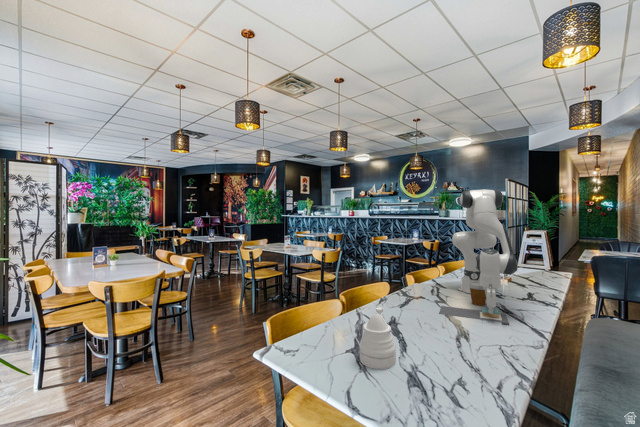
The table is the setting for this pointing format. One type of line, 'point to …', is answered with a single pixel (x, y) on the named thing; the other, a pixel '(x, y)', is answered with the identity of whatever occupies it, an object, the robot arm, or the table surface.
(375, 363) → the honey pot
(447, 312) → the rubber mat
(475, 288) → the disposable coffee cup
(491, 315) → the teal flat block
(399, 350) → the table surface
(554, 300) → the table surface
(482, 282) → the robot arm
